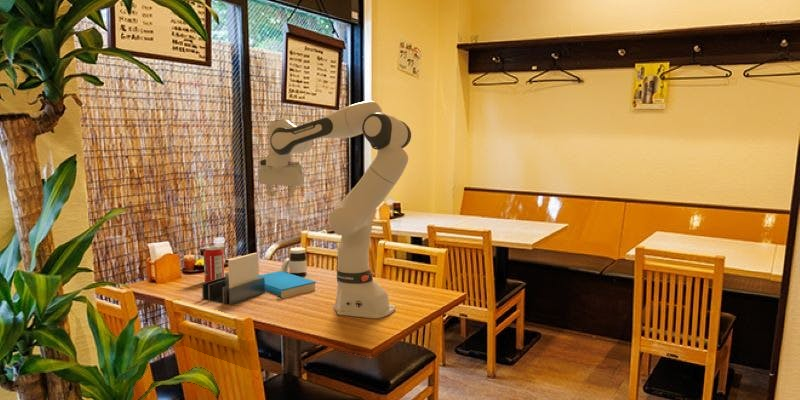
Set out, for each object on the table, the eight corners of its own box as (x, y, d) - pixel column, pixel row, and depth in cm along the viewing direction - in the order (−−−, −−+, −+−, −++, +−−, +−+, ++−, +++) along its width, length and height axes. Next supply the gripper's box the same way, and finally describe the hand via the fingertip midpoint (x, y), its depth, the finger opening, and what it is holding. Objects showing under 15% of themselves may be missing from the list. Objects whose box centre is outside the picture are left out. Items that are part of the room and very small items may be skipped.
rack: (266, 295, 213) (265, 270, 211) (232, 308, 197) (231, 281, 196) (235, 290, 220) (234, 265, 219) (200, 301, 204) (199, 275, 203)
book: (280, 270, 238) (316, 280, 221) (281, 280, 238) (316, 290, 221) (245, 278, 225) (280, 289, 208) (246, 288, 226) (280, 300, 209)
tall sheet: (259, 293, 212) (258, 253, 210) (232, 303, 199) (231, 260, 197) (256, 292, 212) (255, 252, 210) (229, 302, 200) (228, 259, 198)
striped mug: (307, 276, 242) (307, 250, 240) (281, 277, 239) (280, 252, 238) (305, 270, 253) (305, 245, 252) (281, 271, 251) (280, 246, 249)
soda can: (218, 285, 227) (217, 250, 225) (201, 284, 228) (199, 249, 226) (227, 280, 234) (226, 246, 232) (210, 279, 236) (209, 245, 234)
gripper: (306, 161, 211) (307, 197, 213) (265, 160, 221) (267, 194, 222) (296, 162, 206) (297, 198, 207) (255, 161, 215) (256, 196, 217)
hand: (281, 196), depth 215 cm, fingers open, 8 cm apart
